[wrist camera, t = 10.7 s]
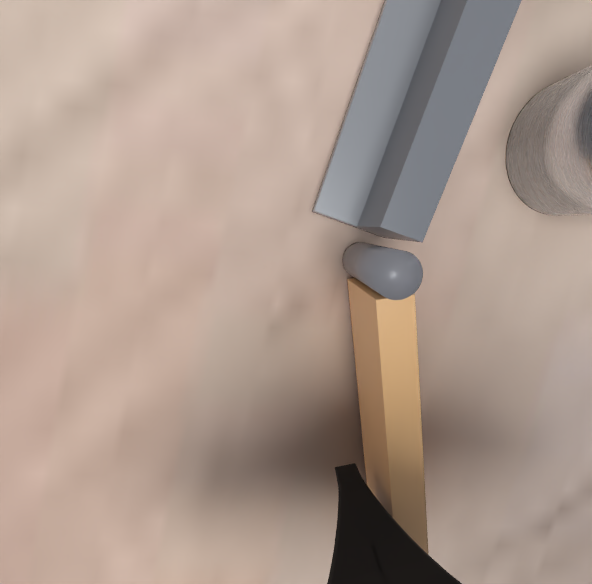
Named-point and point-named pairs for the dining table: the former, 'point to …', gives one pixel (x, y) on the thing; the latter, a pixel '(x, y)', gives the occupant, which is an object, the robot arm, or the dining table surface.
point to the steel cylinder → (555, 148)
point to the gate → (389, 379)
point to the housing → (412, 112)
